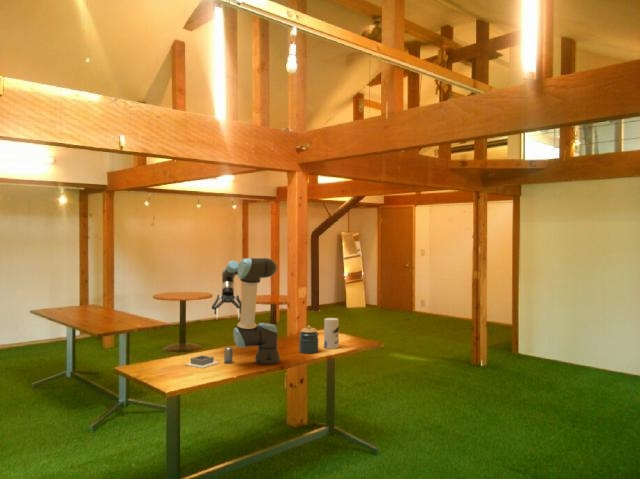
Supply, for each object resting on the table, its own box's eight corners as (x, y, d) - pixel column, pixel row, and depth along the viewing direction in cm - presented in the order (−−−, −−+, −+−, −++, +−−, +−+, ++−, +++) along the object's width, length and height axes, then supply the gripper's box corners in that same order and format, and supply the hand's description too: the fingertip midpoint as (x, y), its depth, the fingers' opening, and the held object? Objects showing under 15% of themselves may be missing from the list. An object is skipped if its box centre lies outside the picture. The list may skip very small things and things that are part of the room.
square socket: (218, 363, 289) (219, 356, 289) (202, 368, 276) (202, 361, 276) (201, 360, 296) (201, 354, 296) (184, 365, 283) (185, 358, 283)
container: (337, 349, 328) (337, 320, 328) (322, 348, 330) (323, 319, 330) (339, 346, 337) (339, 317, 337) (325, 345, 339) (325, 317, 339)
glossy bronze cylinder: (234, 362, 291) (234, 347, 291) (228, 364, 287) (229, 349, 287) (227, 361, 294) (228, 346, 294) (222, 363, 289) (222, 348, 289)
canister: (315, 348, 329) (315, 323, 329) (321, 353, 316) (321, 326, 316) (296, 350, 324) (297, 324, 324) (302, 354, 312) (302, 327, 312)
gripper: (246, 293, 321) (247, 321, 308) (208, 292, 315) (207, 321, 302) (247, 287, 315) (248, 315, 303) (208, 286, 310) (207, 315, 297)
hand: (227, 318), depth 302 cm, fingers open, 13 cm apart
